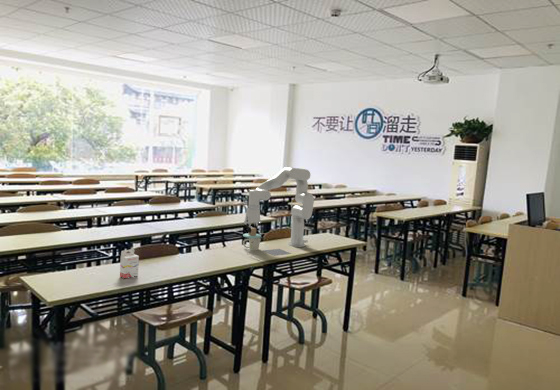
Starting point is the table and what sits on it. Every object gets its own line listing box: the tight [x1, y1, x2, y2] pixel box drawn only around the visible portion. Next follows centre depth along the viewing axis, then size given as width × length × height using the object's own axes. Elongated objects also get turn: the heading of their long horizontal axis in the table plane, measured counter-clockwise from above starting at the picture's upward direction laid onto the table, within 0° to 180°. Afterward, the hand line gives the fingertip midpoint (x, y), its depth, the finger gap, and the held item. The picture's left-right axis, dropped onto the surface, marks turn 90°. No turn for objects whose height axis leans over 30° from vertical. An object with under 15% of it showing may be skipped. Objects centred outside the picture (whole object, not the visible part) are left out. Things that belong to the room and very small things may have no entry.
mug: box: [242, 236, 262, 251], centre depth 322 cm, size 8×13×10 cm, turn 89°
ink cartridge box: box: [119, 248, 140, 279], centre depth 245 cm, size 9×5×15 cm, turn 141°
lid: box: [242, 227, 262, 239], centre depth 321 cm, size 13×13×6 cm
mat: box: [262, 248, 292, 257], centre depth 318 cm, size 15×15×1 cm
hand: (252, 231), depth 321 cm, fingers open, 4 cm apart
